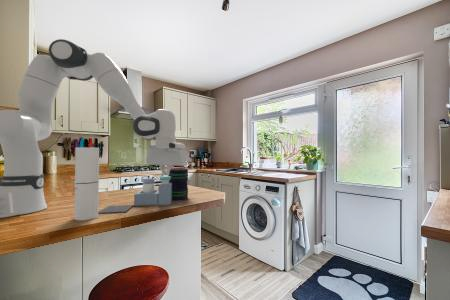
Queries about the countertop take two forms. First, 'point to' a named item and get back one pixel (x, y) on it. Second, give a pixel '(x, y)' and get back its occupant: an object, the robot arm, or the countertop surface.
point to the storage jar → (179, 184)
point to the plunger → (165, 179)
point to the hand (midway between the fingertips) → (165, 175)
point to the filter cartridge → (148, 185)
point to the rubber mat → (116, 209)
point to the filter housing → (155, 196)
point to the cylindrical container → (86, 183)
